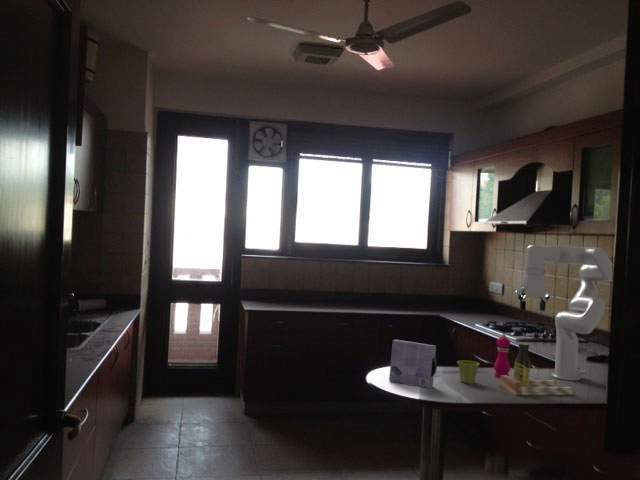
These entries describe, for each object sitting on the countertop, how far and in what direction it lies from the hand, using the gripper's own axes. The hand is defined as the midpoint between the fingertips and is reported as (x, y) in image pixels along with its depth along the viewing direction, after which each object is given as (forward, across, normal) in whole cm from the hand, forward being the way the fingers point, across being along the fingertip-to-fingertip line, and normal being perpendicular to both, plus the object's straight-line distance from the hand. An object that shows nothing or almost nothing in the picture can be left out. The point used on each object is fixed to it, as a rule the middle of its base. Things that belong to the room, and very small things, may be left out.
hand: (532, 310), depth 252 cm
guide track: (+32, +7, +16) cm, 37 cm away
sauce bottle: (+32, +14, +16) cm, 39 cm away
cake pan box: (+33, +58, +6) cm, 67 cm away
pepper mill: (+32, +9, -8) cm, 35 cm away
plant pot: (+32, +31, +2) cm, 45 cm away
